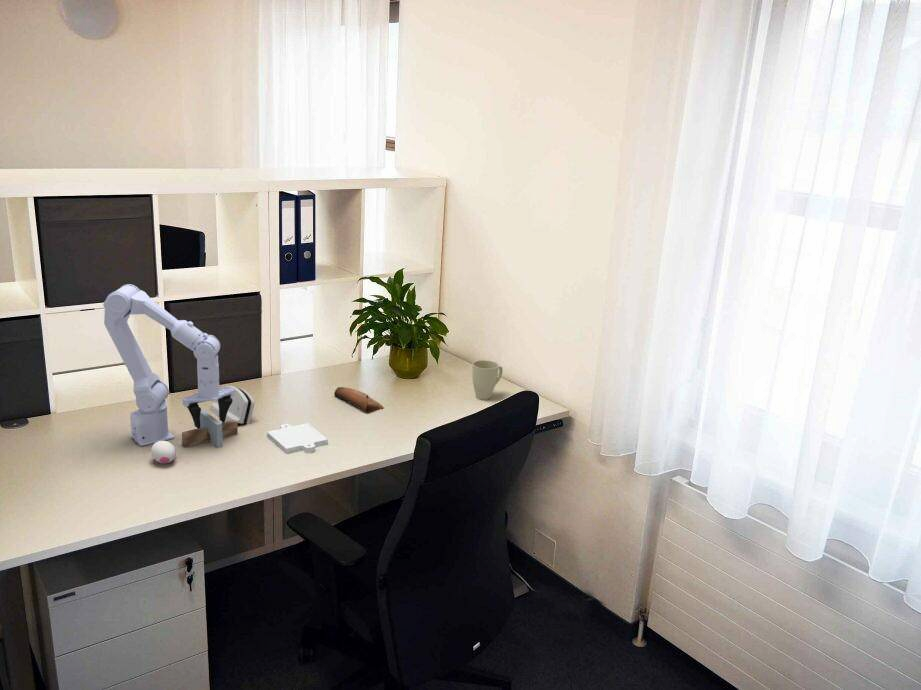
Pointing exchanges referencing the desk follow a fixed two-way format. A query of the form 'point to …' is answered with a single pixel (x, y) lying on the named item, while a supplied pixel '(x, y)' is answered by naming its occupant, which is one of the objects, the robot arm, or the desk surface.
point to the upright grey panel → (212, 428)
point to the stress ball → (163, 452)
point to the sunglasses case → (358, 399)
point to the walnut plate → (202, 435)
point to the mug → (485, 378)
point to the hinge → (237, 406)
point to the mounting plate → (297, 438)
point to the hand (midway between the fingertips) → (210, 424)
